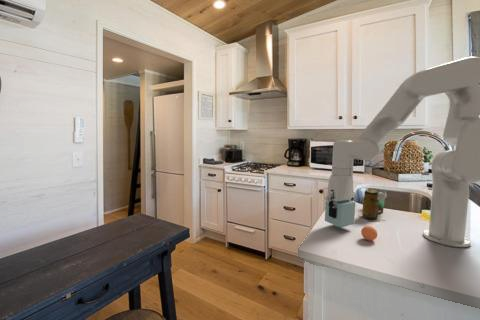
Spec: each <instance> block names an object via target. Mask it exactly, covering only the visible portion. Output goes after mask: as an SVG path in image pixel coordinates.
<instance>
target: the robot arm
mask: <svg viewBox="0 0 480 320" xmlns="http://www.w3.org/2000/svg"><path fill="white" fill-rule="evenodd" d="M479 83H480V57H478V56H468V57H463V58H461V59H457V60H454V61H450V62H447V63H443V64H440V65H436V66H433V67H430V68H429V67H428V68H426V69H423V70H420V71H417V72H415V73H414V74H412V75H409V77H407V78H406V79H404V81H403V82H402V83H401V84H400V85H399V86H398V88H396V90H395V91H394V93H393V94H392V95H391V97H390V98H389V99H388V101H387V102H386V103H385V105H384V106H383V107H382V109H381V110H380V111H379V112H378V113H377V114H376V115H375V117H374V118H373V119H372V121H370V123H369V124H368V125H367V126H366V127H365V128H364V129H363V131H362V132H361V134H360V135H358V138H357V139H356V140H354V141H353V140H351V139H350V140H348V139H347V140H346V139H337V140H335V141H333V145H332V162H331V163H332V165H331V174H330V176H329V180H328V185H327V191H326V192H327V193H326V196H325V197H324V200H325V204H326V203H327V204H328V206H329V216H330V217H332V218H336V213H337V208H336V205H337V203H338V202H340V201H346V200H348V201H353V202H354V199H355V196H356V193H355V191H354V176H353V175H354V174H353V173H354V160H358V161H359V160H361V161H372V160H374V159H376V158H377V157H378V156H379V154H380V147H379V145H378V144H380V142H381V141H382V140H383V139H384V138H385V137H386V136H387V135H388V134H390V133H391V132H393V131H394V130H396V129H397V128H399V127H400V126H402V125H403V124H404V123H405V122H406V120H407V119H408V118H409V116H410V115H411V114H412V113H413V112H414V110H415V109H416V108H417V107H418V106H419V104H420V103H421V102H422V101H423V99H424V98H427V97H430V96H435V95H439V94H443V93H444V94H445V95H446V96H447V97H448V100H449V109H448V112H447V118H446V122H445V124H444V125H445V126H444V128H443V135H442V137H443V140H444V142H445V143H446V144H448V145H450V146H451V147H455V149H452V150H450V149H449V150H444V151H441V152H439V153H438V154H436V155H435V156H434V158H433V159H432V162H431V175H432V176H431V177H432V186H431V187H432V191H431V200H430V211H429V212H430V213H429V225H428V226H429V227H428V229H425V230H423V232H422V235H423V237H424V238H425V239H427V240H429V241H431V242H434V243H437V244H440V245H442V246H447V247H456V248H467V247H470V246H471V242H472V241H471V239H469V238H467V237H466V227H467V218H468V208H469V199H470V184H475V183H479V182H480V84H479ZM334 199H335V200H334ZM333 201H334V204H333V203H332V202H333Z"/></svg>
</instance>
